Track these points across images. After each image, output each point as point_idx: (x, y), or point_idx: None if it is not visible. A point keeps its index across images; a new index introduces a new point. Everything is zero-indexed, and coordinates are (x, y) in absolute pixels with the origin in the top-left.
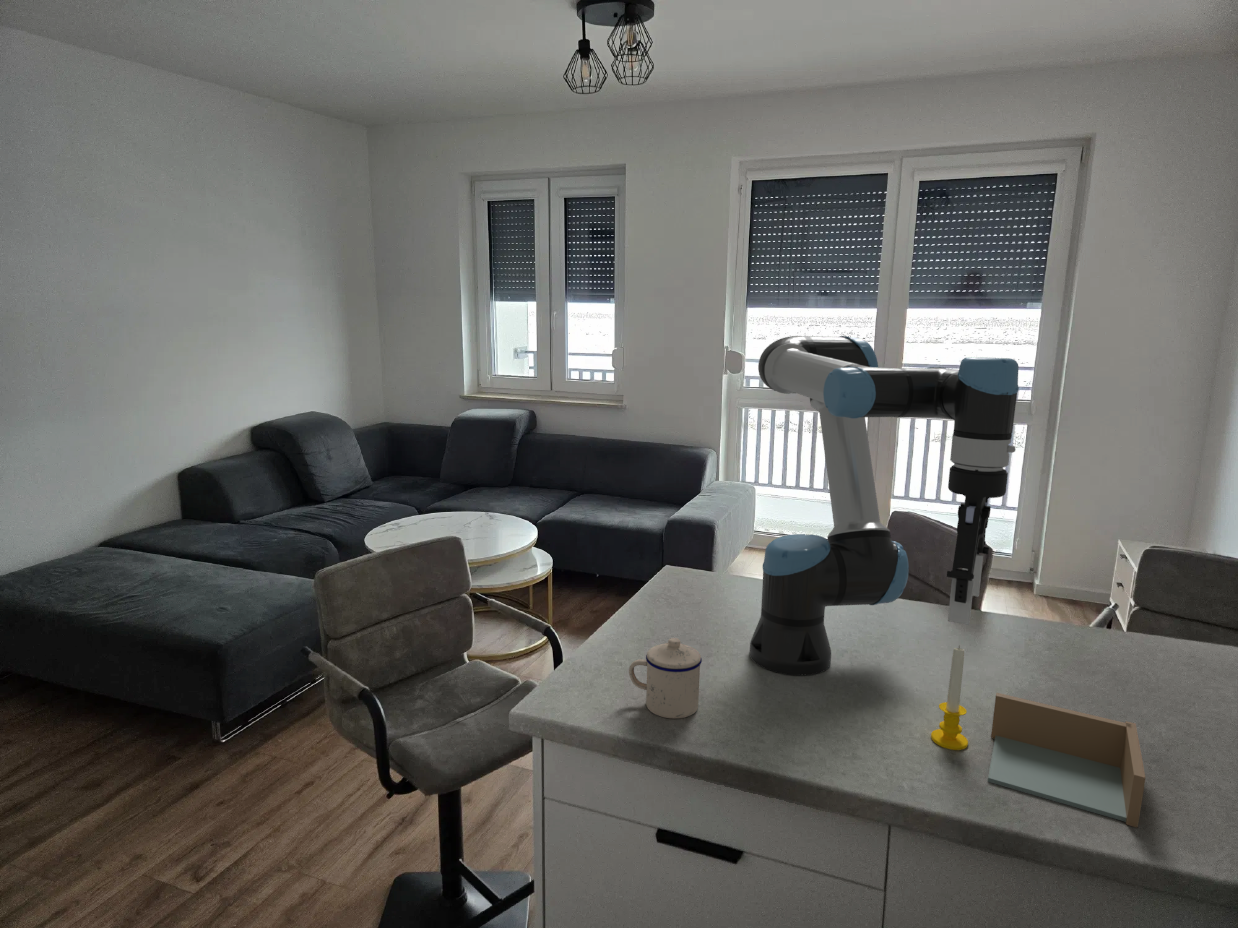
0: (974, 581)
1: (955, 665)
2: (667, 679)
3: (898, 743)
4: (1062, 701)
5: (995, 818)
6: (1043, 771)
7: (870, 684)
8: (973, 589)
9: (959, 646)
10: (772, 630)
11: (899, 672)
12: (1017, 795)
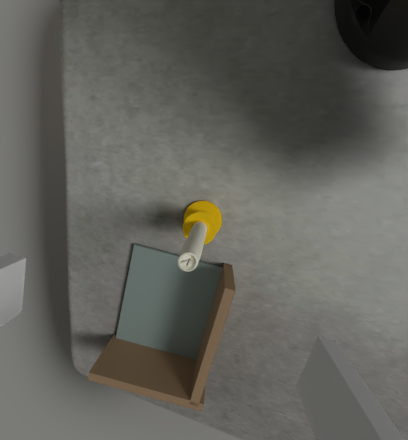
0: (327, 431)
1: (183, 246)
2: None
3: (178, 162)
4: None
5: (79, 238)
6: (164, 295)
7: (329, 134)
8: (311, 393)
9: (186, 264)
10: None
11: (379, 178)
12: (122, 264)
